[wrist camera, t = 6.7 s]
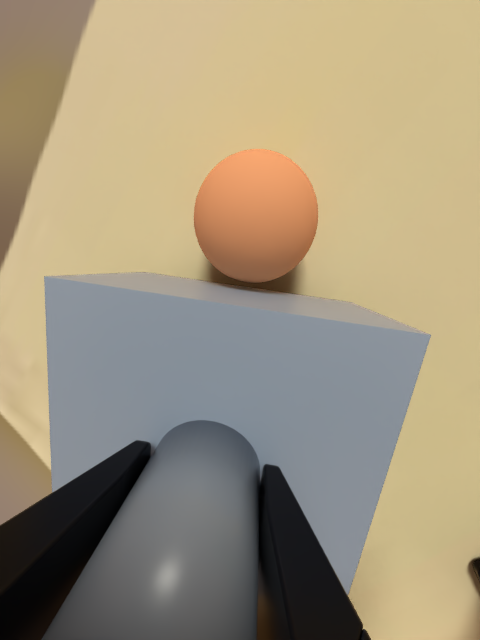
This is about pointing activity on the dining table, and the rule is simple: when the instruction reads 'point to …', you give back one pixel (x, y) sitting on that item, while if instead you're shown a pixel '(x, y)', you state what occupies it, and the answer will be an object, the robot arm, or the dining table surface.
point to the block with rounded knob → (215, 438)
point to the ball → (255, 215)
